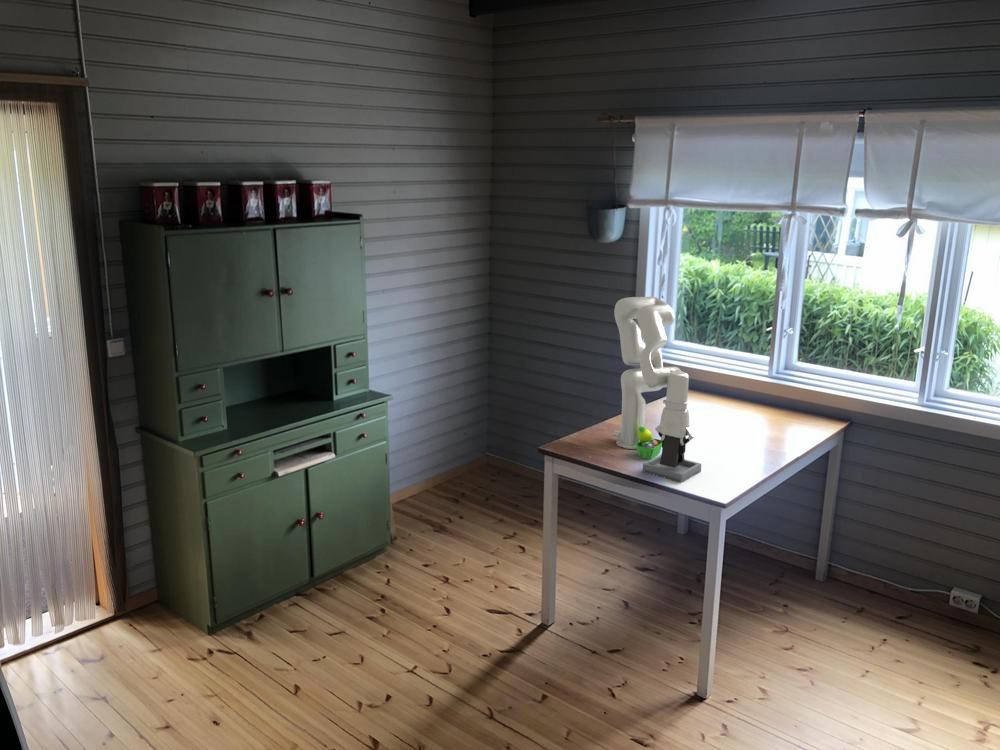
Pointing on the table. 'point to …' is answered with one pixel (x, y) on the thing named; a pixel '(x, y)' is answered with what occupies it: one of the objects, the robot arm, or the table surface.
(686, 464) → the tray
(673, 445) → the phone stand
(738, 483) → the table surface
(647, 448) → the fruit basket
